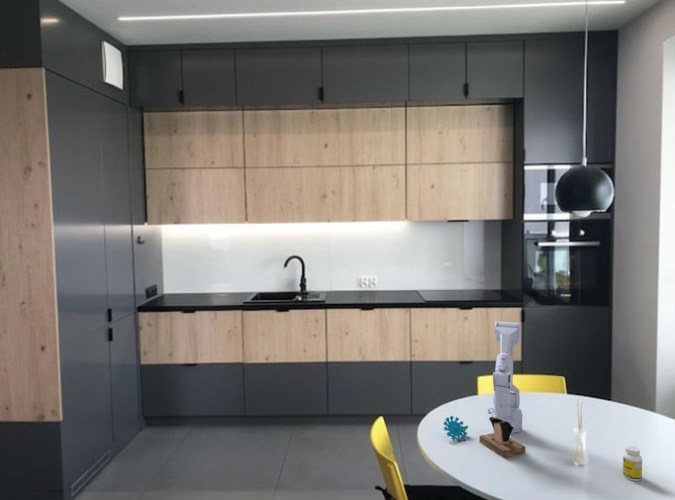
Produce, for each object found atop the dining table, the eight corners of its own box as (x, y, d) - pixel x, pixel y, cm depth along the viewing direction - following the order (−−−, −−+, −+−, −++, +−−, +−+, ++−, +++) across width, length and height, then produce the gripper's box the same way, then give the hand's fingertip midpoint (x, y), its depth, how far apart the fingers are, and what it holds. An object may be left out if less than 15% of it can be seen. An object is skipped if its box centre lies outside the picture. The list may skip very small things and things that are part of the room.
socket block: (500, 438, 198) (500, 431, 198) (525, 453, 185) (525, 446, 185) (479, 442, 195) (479, 435, 195) (503, 457, 182) (503, 450, 181)
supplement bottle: (619, 473, 169) (619, 445, 169) (634, 472, 170) (635, 444, 169) (630, 481, 164) (630, 452, 163) (645, 481, 164) (646, 451, 164)
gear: (449, 440, 193) (441, 415, 200) (442, 446, 197) (435, 421, 204) (473, 439, 197) (465, 415, 203) (466, 445, 201) (458, 421, 207)
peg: (502, 441, 192) (502, 421, 192) (509, 446, 189) (509, 425, 188) (494, 443, 191) (494, 422, 190) (500, 447, 187) (501, 426, 187)
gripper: (481, 398, 194) (481, 432, 195) (506, 411, 181) (505, 448, 181) (496, 395, 197) (496, 430, 197) (522, 408, 183) (521, 445, 184)
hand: (501, 438), depth 190 cm, fingers closed on peg, 4 cm apart
